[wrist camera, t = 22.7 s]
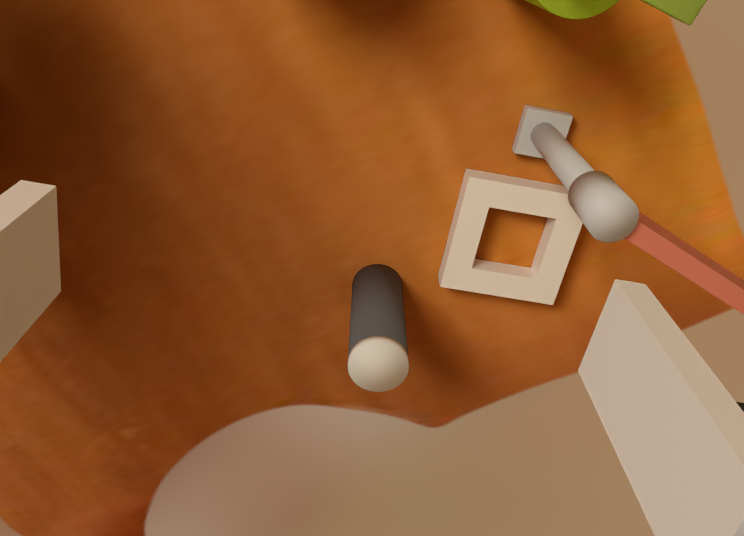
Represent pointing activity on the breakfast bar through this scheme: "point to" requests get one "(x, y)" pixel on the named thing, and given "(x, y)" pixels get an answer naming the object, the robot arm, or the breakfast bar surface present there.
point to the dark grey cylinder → (377, 330)
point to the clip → (647, 235)
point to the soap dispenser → (584, 3)
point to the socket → (483, 190)
